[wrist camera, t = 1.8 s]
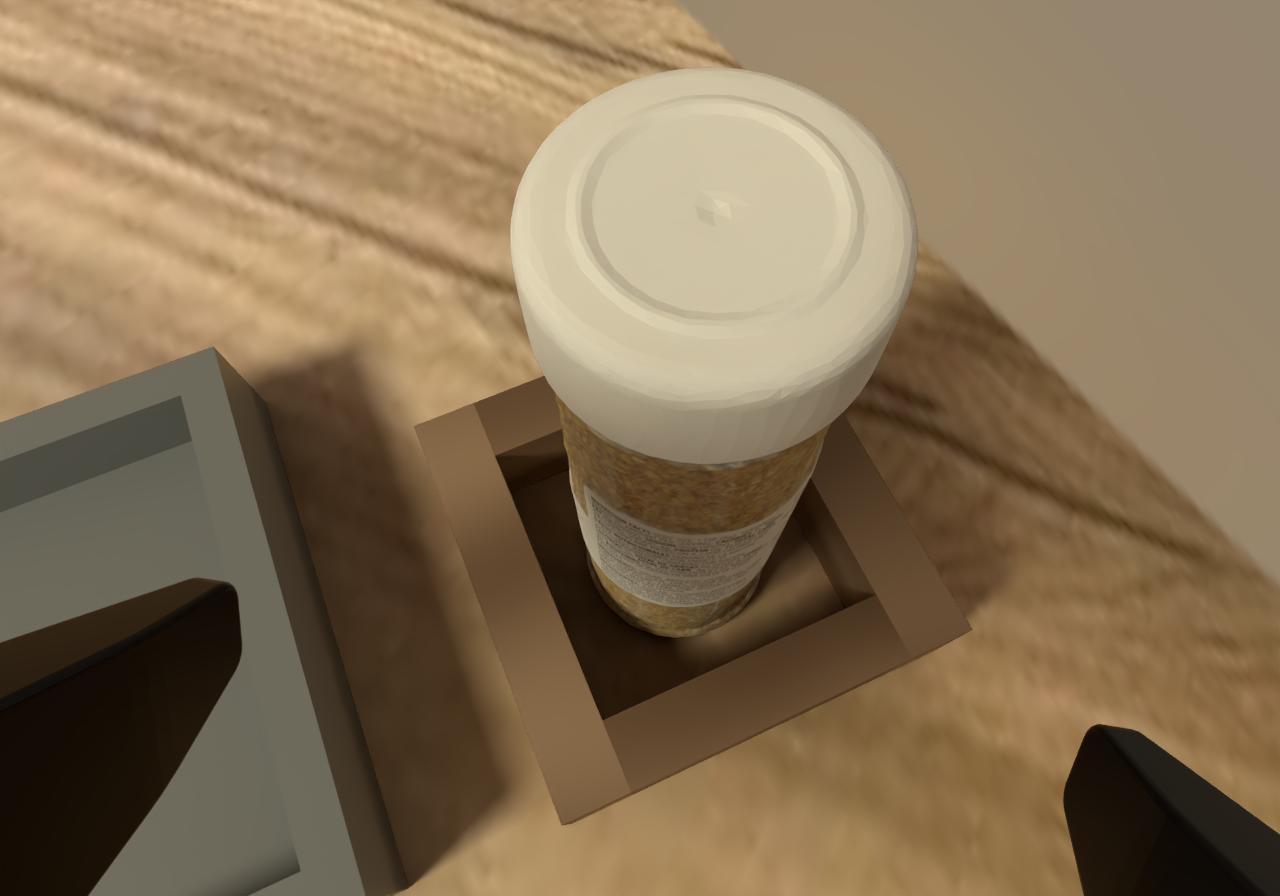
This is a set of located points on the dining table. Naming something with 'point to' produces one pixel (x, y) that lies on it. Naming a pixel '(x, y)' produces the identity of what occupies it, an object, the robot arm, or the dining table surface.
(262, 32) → the dining table surface
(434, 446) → the holder collar
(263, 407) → the tray
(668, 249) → the sprinkles bottle
